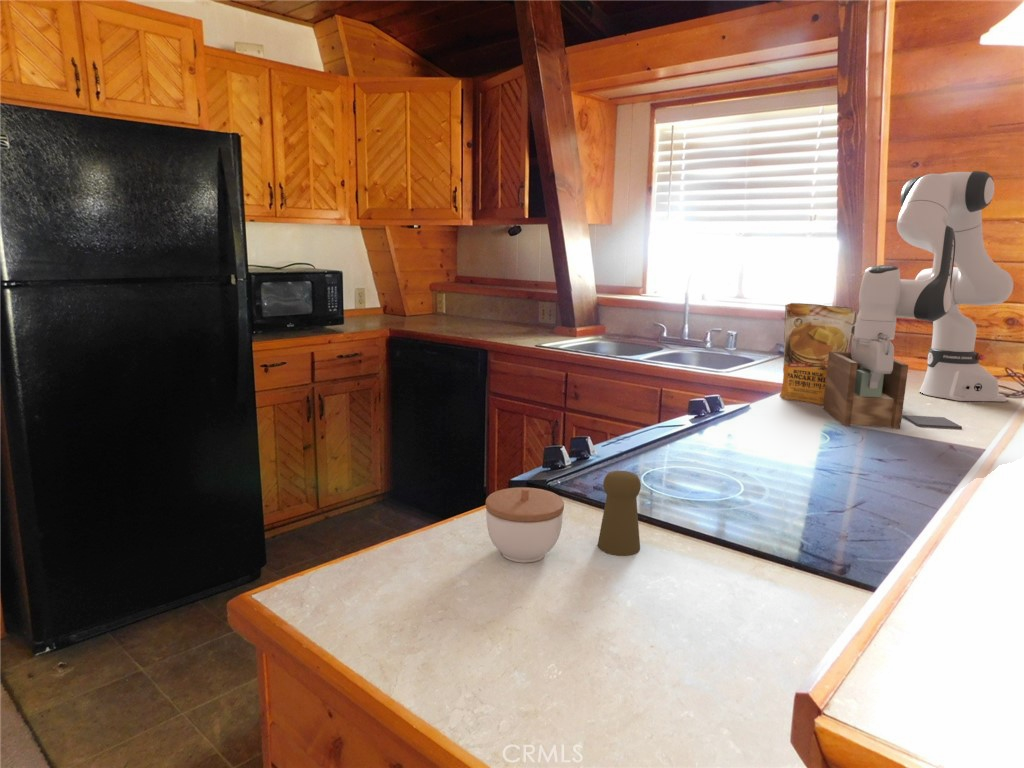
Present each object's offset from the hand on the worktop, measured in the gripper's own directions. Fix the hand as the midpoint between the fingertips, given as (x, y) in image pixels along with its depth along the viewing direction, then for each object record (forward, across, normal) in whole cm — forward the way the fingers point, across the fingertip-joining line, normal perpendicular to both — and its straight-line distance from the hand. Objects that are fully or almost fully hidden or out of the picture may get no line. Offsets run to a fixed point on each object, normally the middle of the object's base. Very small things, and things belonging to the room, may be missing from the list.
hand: (868, 385), depth 172 cm
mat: (+9, +3, -17) cm, 20 cm away
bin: (+9, +4, 0) cm, 10 cm away
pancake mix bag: (+10, +23, +8) cm, 26 cm away
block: (+2, 0, 0) cm, 2 cm away
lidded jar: (+10, -95, +73) cm, 120 cm away
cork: (+10, -90, +60) cm, 109 cm away
